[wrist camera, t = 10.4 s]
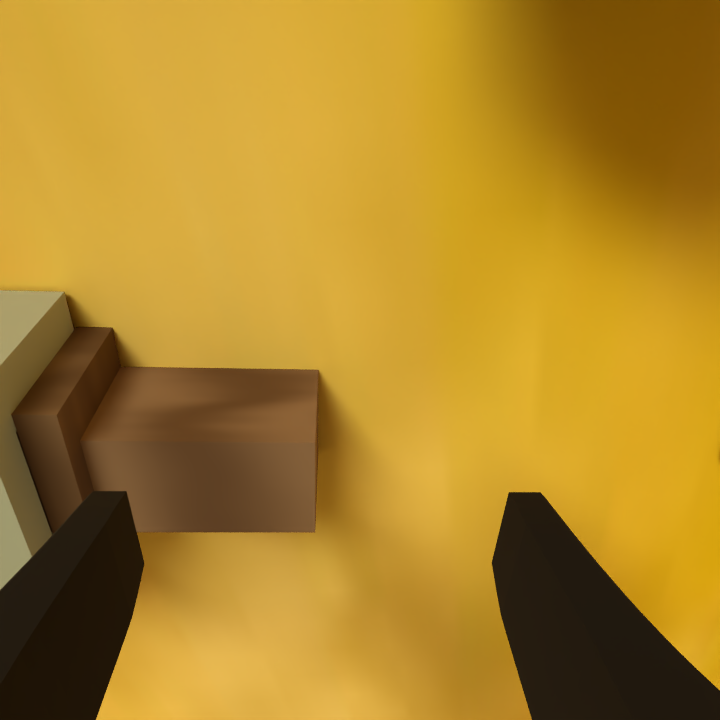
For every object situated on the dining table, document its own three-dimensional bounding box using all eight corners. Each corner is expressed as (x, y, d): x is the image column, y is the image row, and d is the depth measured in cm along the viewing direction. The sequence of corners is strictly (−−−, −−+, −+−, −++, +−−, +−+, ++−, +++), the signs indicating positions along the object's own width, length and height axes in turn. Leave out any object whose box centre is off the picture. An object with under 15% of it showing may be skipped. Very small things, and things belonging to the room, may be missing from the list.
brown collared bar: (318, 331, 20) (313, 417, 16) (317, 482, 24) (314, 582, 20) (-77, 323, 20) (-182, 412, 16) (-12, 480, 24) (-83, 583, 20)
